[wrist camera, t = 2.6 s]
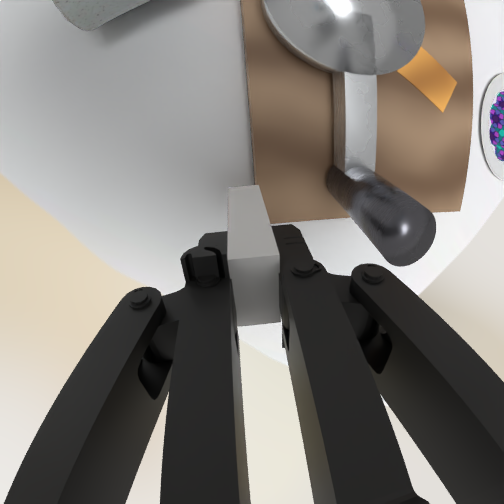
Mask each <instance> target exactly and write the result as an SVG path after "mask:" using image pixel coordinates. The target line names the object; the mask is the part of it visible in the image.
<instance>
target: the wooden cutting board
mask: <svg viewBox="0 0 504 504" xmlns="http://www.w3.org/2000/svg"><path fill="white" fill-rule="evenodd" d="M420 1H421V4H422V7H423V11H424V16H425V34H424V39H423V42H422V45H421V47H420V49H419V51H418V53H417V54H416V55H415V57H414V58H413V59H412V60H411V61H410V62H409V63H408V64H406V65H405V66H403V67H402V68H400V69H398V70H396V71H393V72H391V73H386V74H382V75H376V77H377V140H376V161H375V172H376V173H377V174H379V175H380V176H382V177H383V178H385V179H386V180H388V181H389V182H391V183H392V184H394V185H395V186H397V187H398V188H400V189H401V190H402V191H404V192H405V193H407V194H408V195H410V196H411V197H412V198H414V199H415V200H416V201H418V202H419V203H421V204H422V205H423V206H425V207H426V208H427V209H429V210H430V211H431V213H432V212H454V211H460V209H461V204H462V199H463V194H464V188H465V182H466V176H467V169H468V162H469V154H470V144H471V132H472V115H473V71H472V55H471V44H470V35H469V27H468V20H467V14H466V9H465V4H464V0H420ZM240 2H241V13H242V25H243V37H244V49H245V61H246V73H247V86H248V99H249V112H250V125H251V138H252V151H253V165H254V179H255V185H259V188H260V191H261V194H262V197H263V201H264V204H265V207H266V211H267V214H268V217H269V221H270V224H275V223H286V222H298V221H310V220H323V219H336V218H349V217H350V216H349V215H348V213H347V212H346V211H345V210H344V209H343V208H342V207H341V205H340V204H339V203H338V202H337V201H336V200H335V199H334V198H333V197H332V195H331V194H330V193H329V191H328V189H327V185H326V178H327V174H328V172H329V170H330V168H331V167H332V166H333V165H334V104H333V78H332V73H329V72H326V71H323V70H321V69H318V68H316V67H314V66H312V65H310V64H308V63H306V62H304V61H303V60H301V59H299V58H298V57H297V56H295V55H294V54H293V53H291V52H290V51H289V50H288V49H287V48H286V47H285V46H284V45H283V44H282V43H281V42H280V41H279V40H278V39H277V38H276V36H275V35H274V34H273V32H272V31H271V29H270V28H269V26H268V24H267V22H266V20H265V17H264V14H263V11H262V7H261V2H260V0H240Z"/></svg>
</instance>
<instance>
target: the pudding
mask: <svg viewBox="0 0 504 504" xmlns="http://www.w3.org/2000/svg"><path fill="white" fill-rule="evenodd" d="M502 90H504V73H503V74H500V75H498V76H496V77H495V78H494V79H493V80H492V82H491V83H490V85H489V86H488V89H487V91H486V94H485V98H484V101H483V107H482V116H481V135H482V144H483V149H484V154H485V157H486V160H487V163H488V165H489V167H490V169H491V171H492V172H493V174H494V175H495V176H496V177H497V178H498V179H500V180H502V181H504V163H502V162H500V161H499V160H501V161H504V92H500V91H502ZM499 92H500V93H499ZM498 93H499V94H498ZM497 94H498V95H497ZM496 95H497V102H496V103H495V104H493V105H492V102H493V100H494V98H495V96H496ZM491 105H492V107H491ZM490 109H491V110H490ZM489 114H490V119H491V123H492V125H491V128H490V137H489ZM490 140H491V142H490ZM491 143H492V144H493V145H494V146H495V154H496V155H495V154H494V151H493V149H492V146H491ZM496 156H497V157H496ZM498 159H499V160H498Z"/></svg>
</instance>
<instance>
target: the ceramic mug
mask: <svg viewBox="0 0 504 504" xmlns="http://www.w3.org/2000/svg"><path fill="white" fill-rule="evenodd" d="M148 1H151V0H53V2H54V4H55V5H56V7H57V8H58V9H59V10H60V11H61V12H62V14H63V15H64V17H65V18H66V19H67V20H68V21H70V22H71V23H72V24H74V25H75V26H77V27H78V28H80V29H82V30H85V31H90V30H94V29H96V28H98V27H99V26H101V25H103V24H104V23H106V22H108V21H110V20H112V19H114V18H115V17H117V16H119V15H121V14H124V13H125V12H127V11H129V10H131V9H133V8H136V7H138V6H140V5H142V4H144V3H146V2H148Z"/></svg>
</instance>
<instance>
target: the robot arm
mask: <svg viewBox="0 0 504 504" xmlns="http://www.w3.org/2000/svg"><path fill="white" fill-rule="evenodd" d="M180 260H181V264H182V268H183V272H184V277H185V281H186V284H185V287H184V288H183V289H181V290H179V291H177V292H174V293H171V294H168V295H164V296H161V293H160V292H159V291H158V290H157V289H156V288H152V287H141V288H137V289H134V290H133V291H131V292H129V293H127V294H126V296H124V297H123V298H122V300H121V301H120V302H119V304H118V305H117V307H116V308H115V309H114V311H113V312H112V314H111V315H110V316H109V318H108V319H107V321H106V322H105V324H104V325H103V326H102V328H101V329H100V331H99V332H98V334H97V335H96V337H95V338H94V340H93V341H92V343H91V344H90V346H89V347H88V349H87V350H86V352H85V353H84V355H83V356H82V358H81V359H80V361H79V362H78V364H77V366H76V367H75V369H74V370H73V372H72V373H71V375H70V377H69V378H68V380H67V382H66V383H65V385H64V386H63V388H62V390H61V391H60V394H59V395H58V397H57V398H56V400H55V402H54V403H53V405H52V407H51V409H50V410H49V412H48V414H47V416H46V417H45V419H44V421H43V423H42V425H41V426H40V428H39V430H38V432H37V434H36V436H35V438H34V440H33V441H32V443H31V445H30V447H29V450H28V451H27V453H26V455H25V457H24V460H23V461H22V464H21V466H20V468H19V470H18V472H17V474H16V477H15V479H14V481H13V483H12V486H11V488H10V490H9V492H8V495H7V497H6V500H5V502H4V504H125V503H126V500H127V498H128V495H129V492H130V489H131V487H132V484H133V481H134V479H135V476H136V473H137V471H138V468H139V466H140V463H141V460H142V458H143V455H144V453H145V450H146V448H147V445H148V442H149V440H150V437H151V434H152V432H153V429H154V427H155V424H156V422H157V420H158V417H159V414H160V412H161V410H162V407H163V405H164V402H165V400H166V397H167V395H168V392H169V397H168V405H167V415H166V424H165V435H164V447H163V459H162V474H161V492H160V504H251V502H250V491H249V478H248V466H247V454H246V440H245V427H244V413H243V398H242V383H241V367H240V352H239V336H238V330H237V326H248V325H258V324H267V323H276V322H281V319H282V348H285V349H286V354H287V360H288V365H289V370H290V375H291V380H292V385H293V390H294V396H295V401H296V406H297V411H298V416H299V422H300V427H301V433H302V438H303V443H304V449H305V454H306V460H307V465H308V471H309V476H310V482H311V488H312V493H313V499H314V504H429V502H428V501H426V500H425V499H423V498H421V497H419V496H418V495H417V494H416V493H415V491H414V490H413V487H412V484H411V481H410V478H409V475H408V471H407V468H406V465H405V462H404V459H403V456H402V453H401V450H400V447H399V444H398V441H397V439H396V436H395V433H394V430H393V428H392V425H391V422H390V419H389V416H388V414H387V411H386V408H385V406H384V403H383V400H382V398H381V396H382V397H383V398H384V400H385V401H386V403H387V404H388V405H389V407H390V408H391V410H392V411H393V412H394V414H395V415H396V416H397V418H398V419H399V421H400V422H401V423H402V425H403V426H404V428H405V429H406V431H407V432H408V434H409V435H410V436H411V438H412V439H413V441H414V442H415V444H416V445H417V446H418V448H419V449H420V451H421V452H422V454H423V455H424V457H425V458H426V459H427V461H428V462H429V464H430V465H431V467H432V468H433V470H434V471H435V473H436V474H437V475H438V477H439V478H440V480H441V481H442V483H443V484H444V486H445V487H446V489H447V490H448V492H449V493H450V495H451V496H452V498H453V499H454V501H455V502H456V504H504V382H503V381H502V380H501V379H500V378H499V377H498V375H497V374H496V373H495V372H494V371H493V370H492V369H491V368H490V367H489V366H488V365H487V363H486V362H485V361H484V360H483V359H482V358H481V357H480V356H479V355H478V354H477V353H476V352H475V351H474V350H473V349H472V348H471V347H470V346H469V345H468V344H467V343H466V342H465V341H464V340H463V339H462V338H461V337H460V336H459V335H458V334H457V333H456V332H455V331H454V330H453V329H452V328H451V327H450V326H449V325H448V324H447V323H446V322H445V321H444V320H443V319H442V318H441V317H440V316H439V315H438V314H437V313H436V312H435V311H434V310H433V309H431V308H430V307H429V306H428V305H427V304H426V303H425V302H424V301H423V300H422V299H420V298H419V297H418V296H417V295H416V294H415V293H414V292H413V291H412V290H411V289H410V288H408V287H407V286H406V285H405V284H404V283H403V282H402V281H401V280H399V279H398V278H397V277H396V276H395V275H394V274H392V273H391V272H390V271H389V270H387V269H386V268H384V267H383V266H379V265H376V264H361V265H359V266H357V267H355V268H354V269H353V271H352V274H351V276H342V275H334V274H330V273H327V271H326V269H325V267H324V266H323V265H322V264H321V263H319V262H317V261H315V260H313V257H312V255H311V253H310V251H309V249H308V247H307V244H306V243H305V240H304V238H303V236H302V234H301V232H300V230H299V229H298V228H296V227H295V226H294V225H292V224H289V225H278V226H271V224H270V221H269V217H268V214H267V211H266V207H265V204H264V201H263V197H262V194H261V191H260V188H259V185H249V186H239V187H229V188H228V231H225V232H215V233H205V234H204V235H203V236H202V238H201V239H200V240H199V243H198V246H196V247H194V248H191V249H189V250H188V251H186V252H185V253H184V254H183V255H182V257H181V258H180ZM380 394H381V395H380Z"/></svg>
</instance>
